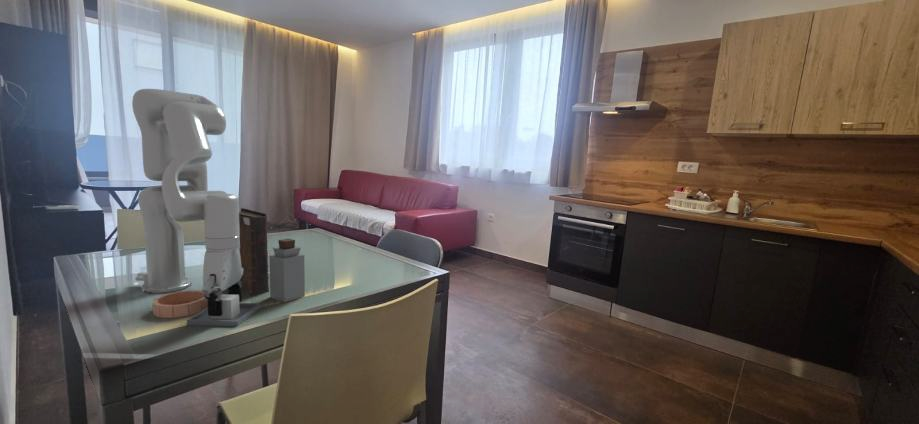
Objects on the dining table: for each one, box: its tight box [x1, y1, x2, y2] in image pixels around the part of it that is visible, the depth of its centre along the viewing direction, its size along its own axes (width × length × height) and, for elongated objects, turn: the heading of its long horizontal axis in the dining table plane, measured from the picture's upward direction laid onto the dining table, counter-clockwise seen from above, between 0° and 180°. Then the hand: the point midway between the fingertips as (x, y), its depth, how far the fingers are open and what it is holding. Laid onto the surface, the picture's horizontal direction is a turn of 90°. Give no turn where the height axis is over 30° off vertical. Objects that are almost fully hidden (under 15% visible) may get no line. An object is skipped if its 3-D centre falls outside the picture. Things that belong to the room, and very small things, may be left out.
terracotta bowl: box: [152, 289, 208, 319], centre depth 105 cm, size 12×12×4 cm
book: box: [239, 207, 270, 295], centre depth 122 cm, size 17×7×25 cm, turn 50°
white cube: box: [211, 293, 240, 319], centre depth 102 cm, size 5×4×5 cm
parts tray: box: [186, 302, 261, 327], centre depth 102 cm, size 12×12×2 cm
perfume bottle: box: [268, 238, 306, 303], centre depth 116 cm, size 7×7×18 cm
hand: (225, 308), depth 102 cm, fingers open, 8 cm apart
